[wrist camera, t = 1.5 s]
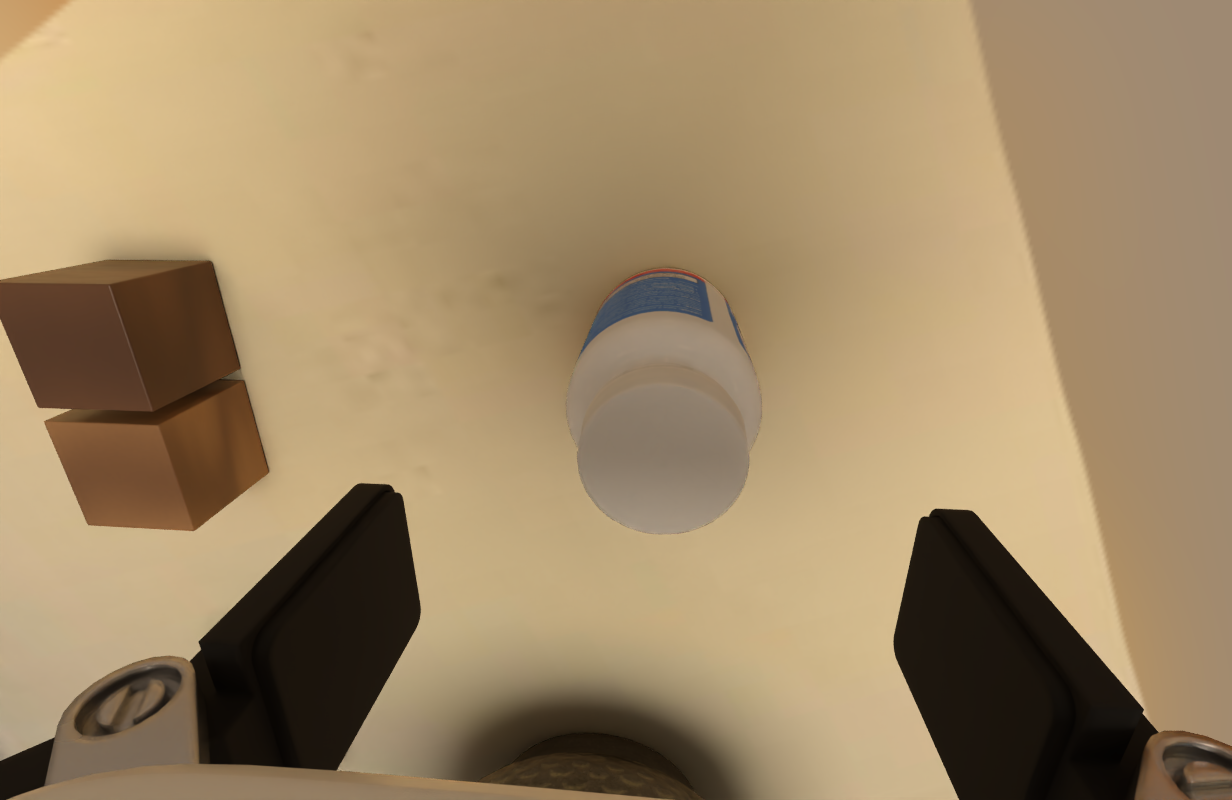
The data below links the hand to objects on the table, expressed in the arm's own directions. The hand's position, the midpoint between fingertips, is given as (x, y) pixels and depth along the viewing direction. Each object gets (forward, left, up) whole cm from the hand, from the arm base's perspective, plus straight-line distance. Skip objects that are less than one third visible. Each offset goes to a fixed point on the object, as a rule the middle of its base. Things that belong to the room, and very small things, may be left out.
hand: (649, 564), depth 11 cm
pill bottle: (0, 0, -13) cm, 13 cm away
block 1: (-1, -20, -13) cm, 24 cm away
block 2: (+4, -20, -13) cm, 24 cm away
